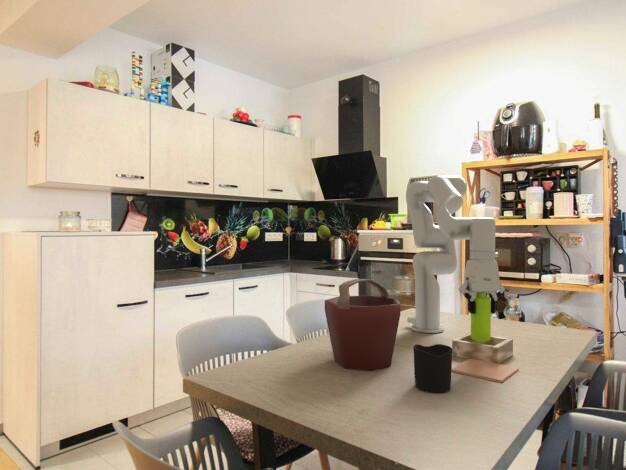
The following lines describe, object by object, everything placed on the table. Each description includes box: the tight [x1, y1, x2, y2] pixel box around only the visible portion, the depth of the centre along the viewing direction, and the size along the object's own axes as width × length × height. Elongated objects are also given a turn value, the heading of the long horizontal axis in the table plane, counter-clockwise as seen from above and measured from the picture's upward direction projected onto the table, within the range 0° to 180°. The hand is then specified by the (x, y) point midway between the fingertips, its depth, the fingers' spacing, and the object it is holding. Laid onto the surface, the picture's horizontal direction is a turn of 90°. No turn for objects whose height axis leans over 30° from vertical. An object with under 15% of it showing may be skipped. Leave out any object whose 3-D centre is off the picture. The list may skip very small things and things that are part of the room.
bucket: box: [324, 278, 401, 372], centre depth 130 cm, size 24×22×25 cm
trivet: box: [451, 359, 520, 383], centre depth 121 cm, size 14×14×1 cm
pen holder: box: [412, 343, 453, 394], centre depth 108 cm, size 9×9×10 cm
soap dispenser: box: [470, 278, 492, 341], centre depth 137 cm, size 6×7×20 cm
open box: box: [451, 332, 514, 364], centre depth 137 cm, size 14×14×5 cm
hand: (481, 312), depth 137 cm, fingers closed on soap dispenser, 5 cm apart
